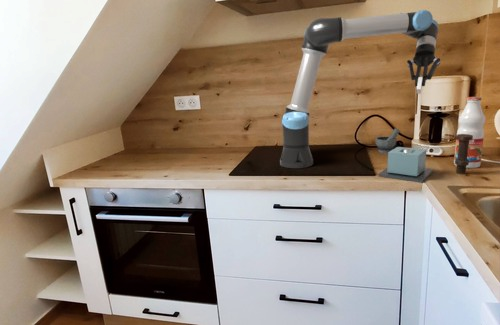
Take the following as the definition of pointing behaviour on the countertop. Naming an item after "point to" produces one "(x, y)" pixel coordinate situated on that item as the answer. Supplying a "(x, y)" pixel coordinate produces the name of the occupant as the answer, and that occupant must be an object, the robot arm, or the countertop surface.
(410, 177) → the pipe stand
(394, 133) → the mortar and pestle
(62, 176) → the countertop surface
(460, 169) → the bolt
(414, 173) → the sleeve
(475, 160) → the fruit juice
